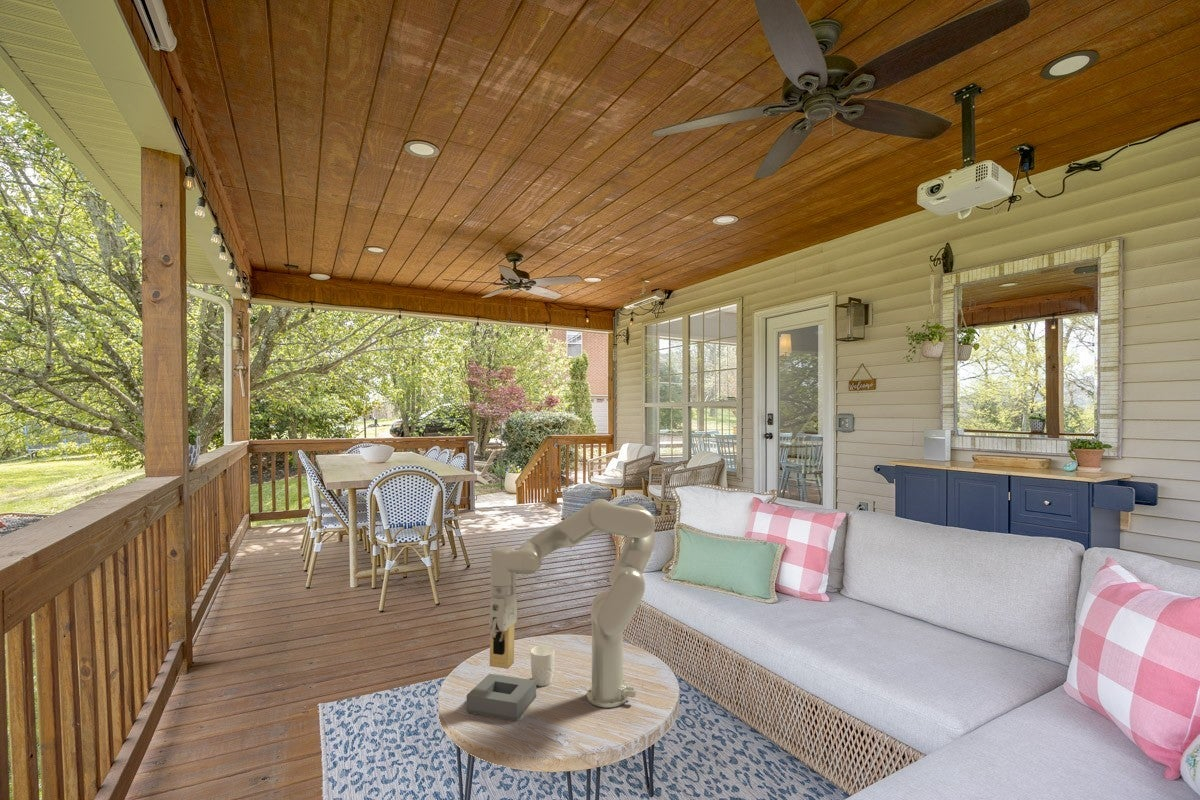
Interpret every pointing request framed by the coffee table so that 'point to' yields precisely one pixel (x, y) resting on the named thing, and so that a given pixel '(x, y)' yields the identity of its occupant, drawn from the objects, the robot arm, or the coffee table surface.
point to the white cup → (542, 664)
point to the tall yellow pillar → (508, 656)
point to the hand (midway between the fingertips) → (502, 650)
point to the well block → (501, 697)
